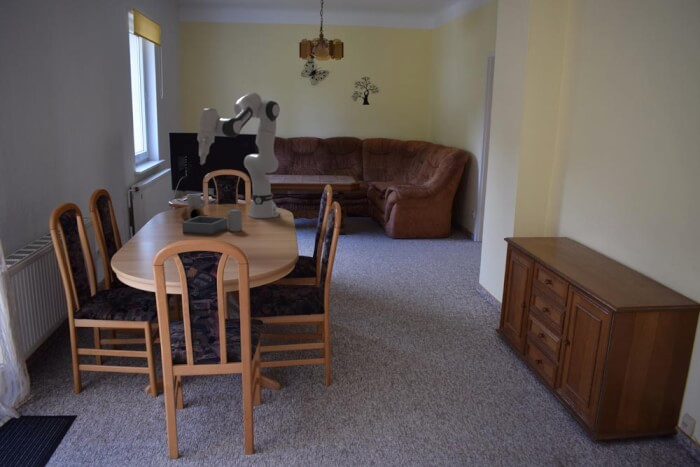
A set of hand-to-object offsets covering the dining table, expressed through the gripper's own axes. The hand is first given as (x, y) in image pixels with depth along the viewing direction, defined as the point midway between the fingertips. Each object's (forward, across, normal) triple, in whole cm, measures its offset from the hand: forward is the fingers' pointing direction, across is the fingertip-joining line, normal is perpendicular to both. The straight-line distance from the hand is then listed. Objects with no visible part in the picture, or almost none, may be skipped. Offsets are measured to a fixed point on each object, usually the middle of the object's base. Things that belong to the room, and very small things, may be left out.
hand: (202, 163), depth 298 cm
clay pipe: (+32, +39, -2) cm, 50 cm away
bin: (+36, +12, -8) cm, 38 cm away
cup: (+26, +64, -5) cm, 70 cm away
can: (+34, +6, -23) cm, 41 cm away
